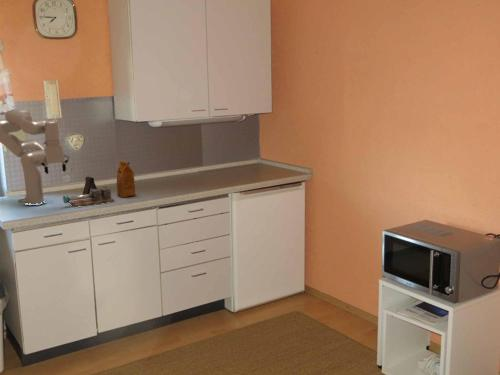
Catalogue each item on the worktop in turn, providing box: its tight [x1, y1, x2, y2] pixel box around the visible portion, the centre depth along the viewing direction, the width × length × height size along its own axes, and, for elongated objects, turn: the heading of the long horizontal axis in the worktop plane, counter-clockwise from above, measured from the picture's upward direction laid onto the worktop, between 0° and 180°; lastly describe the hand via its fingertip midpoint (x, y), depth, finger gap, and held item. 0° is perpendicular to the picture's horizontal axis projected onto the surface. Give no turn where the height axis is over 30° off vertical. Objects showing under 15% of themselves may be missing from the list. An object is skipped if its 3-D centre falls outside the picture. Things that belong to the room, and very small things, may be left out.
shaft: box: [62, 193, 94, 204], centre depth 353 cm, size 20×4×4 cm, turn 122°
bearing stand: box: [68, 187, 115, 208], centre depth 356 cm, size 24×12×8 cm, turn 122°
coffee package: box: [116, 159, 136, 198], centre depth 372 cm, size 10×12×22 cm
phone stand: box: [82, 176, 98, 195], centre depth 375 cm, size 9×6×12 cm, turn 131°
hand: (55, 172), depth 343 cm, fingers open, 9 cm apart
